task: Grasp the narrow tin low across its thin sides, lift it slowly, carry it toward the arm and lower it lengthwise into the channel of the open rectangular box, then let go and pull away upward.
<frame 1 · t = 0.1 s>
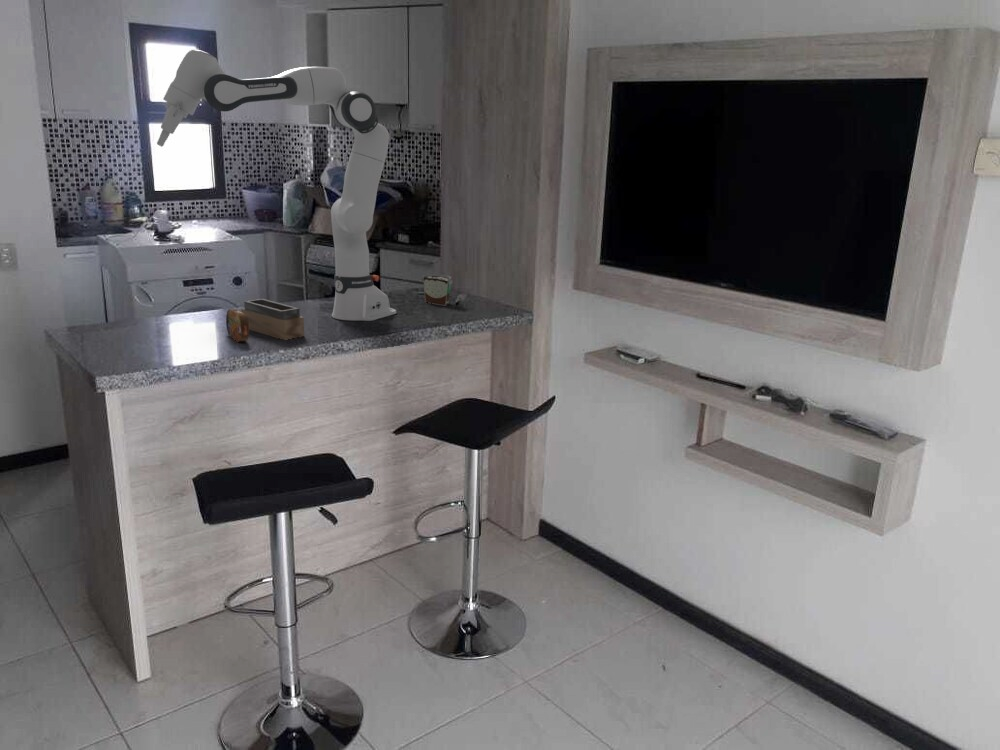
hand: (159, 145, 236), 54 cm above the countertop, tool tilted 30°, fingers open, 8 cm apart
food container: (440, 303, 298), on the countertop
open rectangular box: (272, 331, 248), on the countertop
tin: (238, 339, 239), on the countertop
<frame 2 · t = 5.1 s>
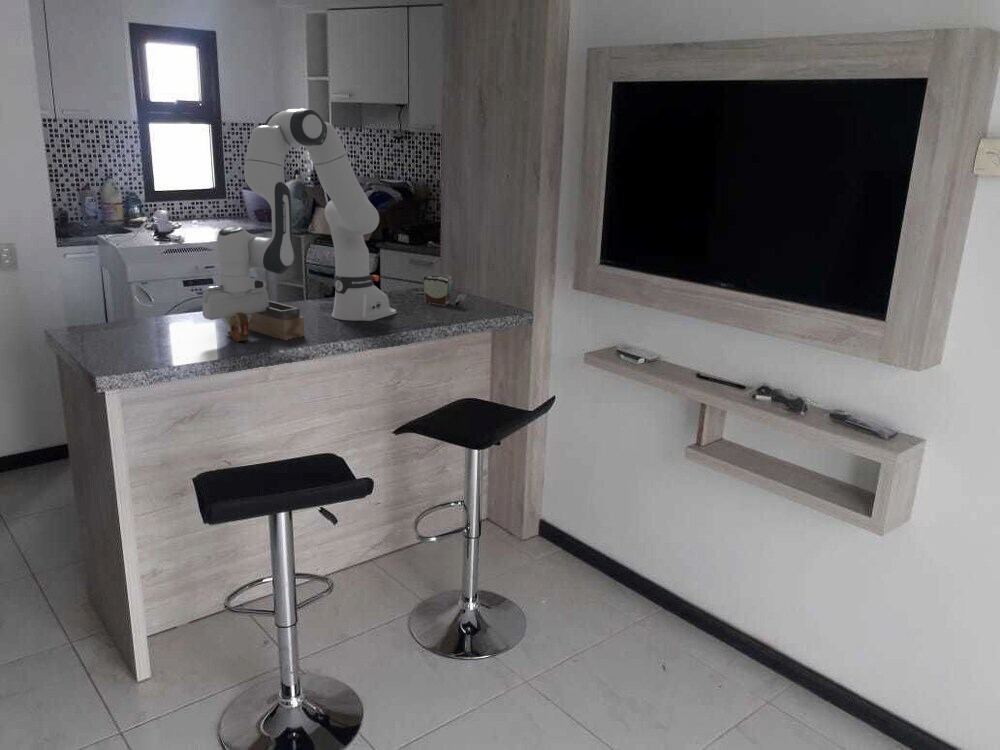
hand: (237, 329, 239), 3 cm above the countertop, tool pointing down, fingers closed on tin, 3 cm apart
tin: (238, 339, 239), on the countertop, touching gripper
everything else where it was.
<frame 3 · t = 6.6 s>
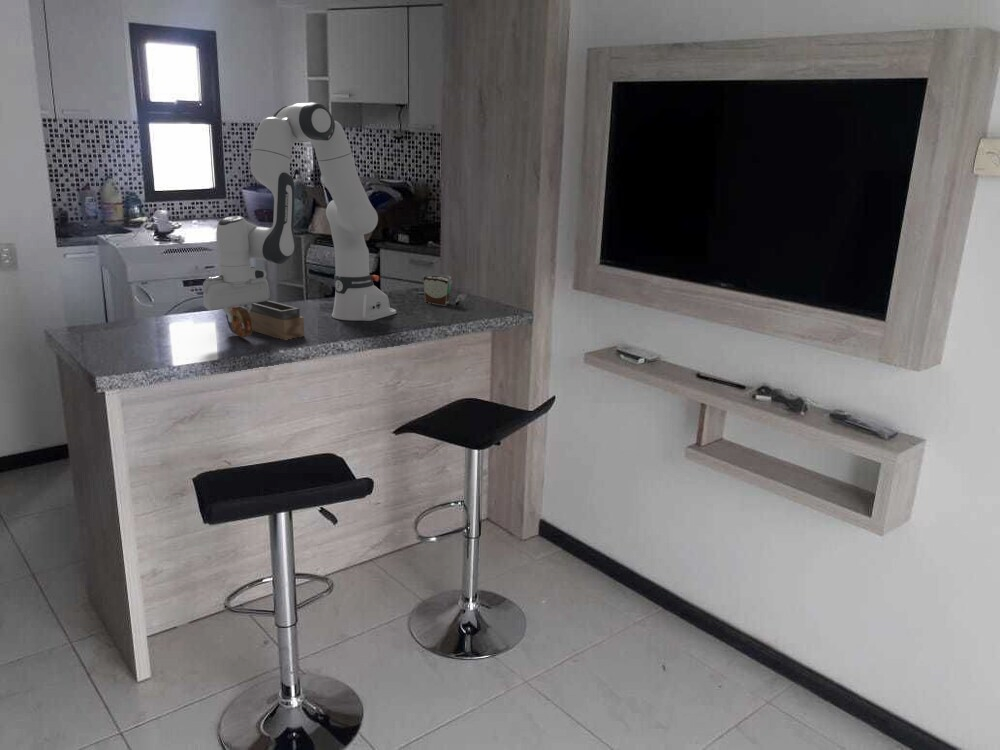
hand: (238, 320, 238), 6 cm above the countertop, tool pointing down, fingers closed on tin, 3 cm apart
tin: (242, 334, 240), point 1 cm above the countertop, touching gripper
everything else where it was.
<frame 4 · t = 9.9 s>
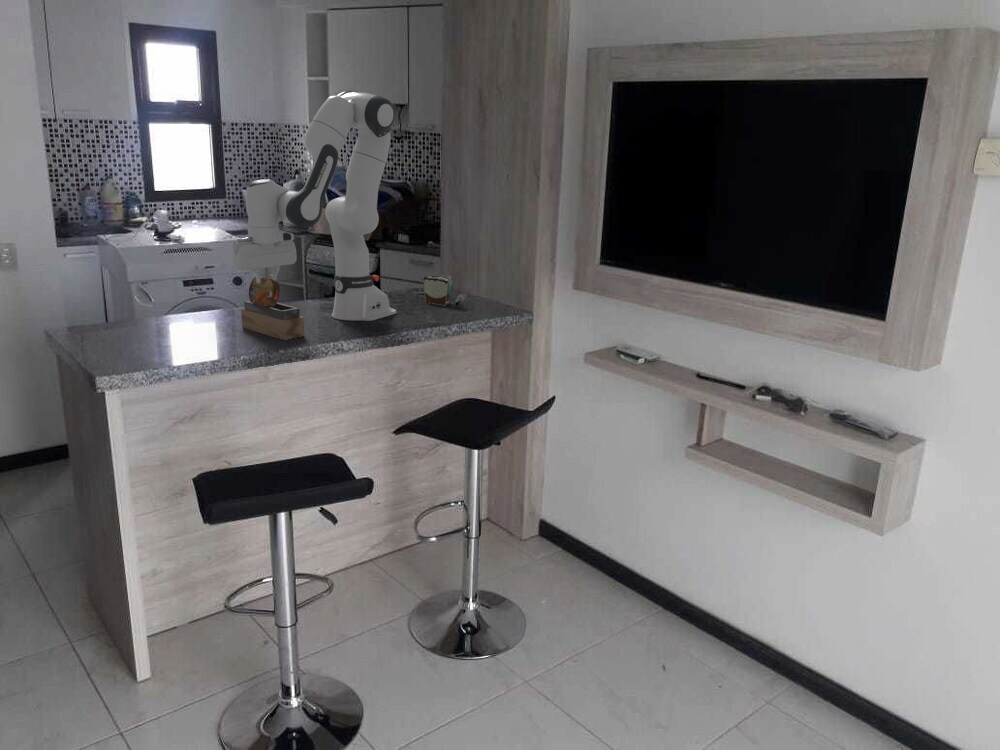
hand: (266, 282, 243), 16 cm above the countertop, tool pointing down, fingers closed on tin, 3 cm apart
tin: (262, 306, 244), point 8 cm above the countertop, touching open rectangular box, gripper
everything else where it was.
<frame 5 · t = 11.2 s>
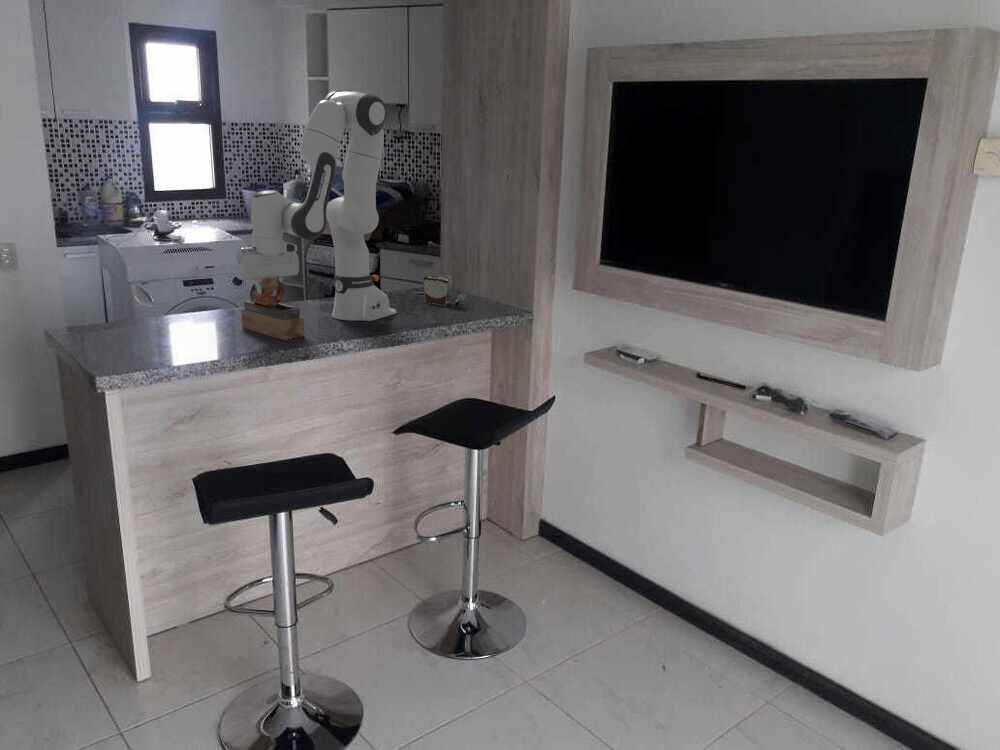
hand: (268, 292, 244), 12 cm above the countertop, tool pointing down, fingers closed on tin, 4 cm apart
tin: (262, 305, 244), point 9 cm above the countertop, touching open rectangular box, gripper
everything else where it was.
when the fingers open (10 cm above the countertop, at t = 12.6 s): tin stays where it is, resting on open rectangular box.
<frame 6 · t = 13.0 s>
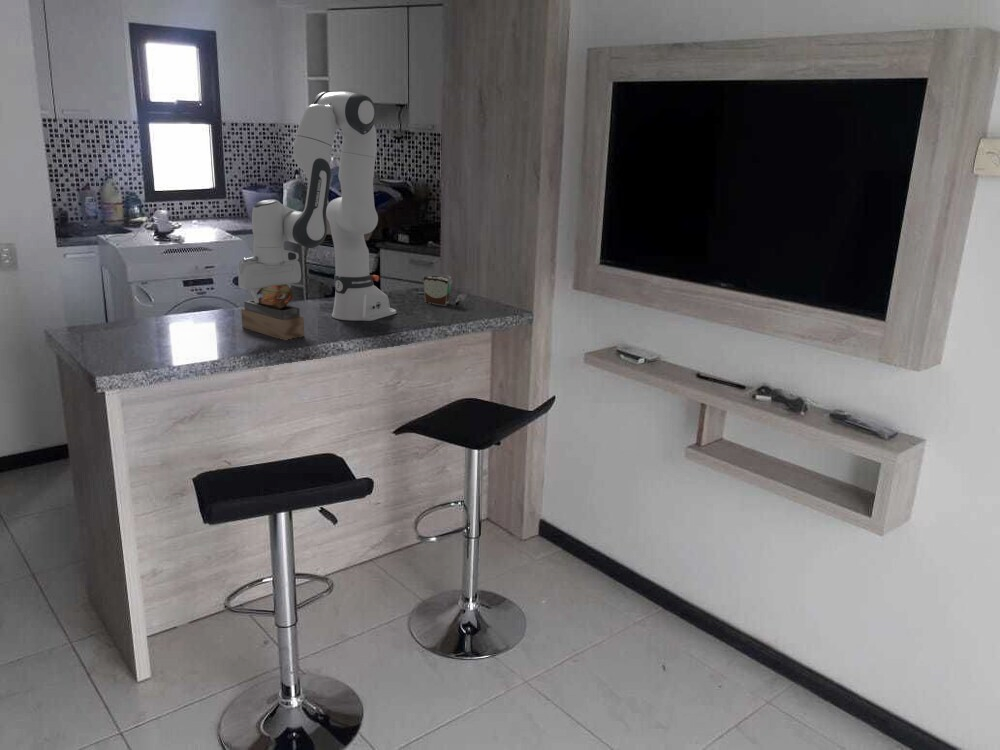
hand: (271, 300, 245), 10 cm above the countertop, tool pointing down, fingers open, 8 cm apart
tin: (265, 307, 245), point 8 cm above the countertop, touching open rectangular box, gripper
everything else where it was.
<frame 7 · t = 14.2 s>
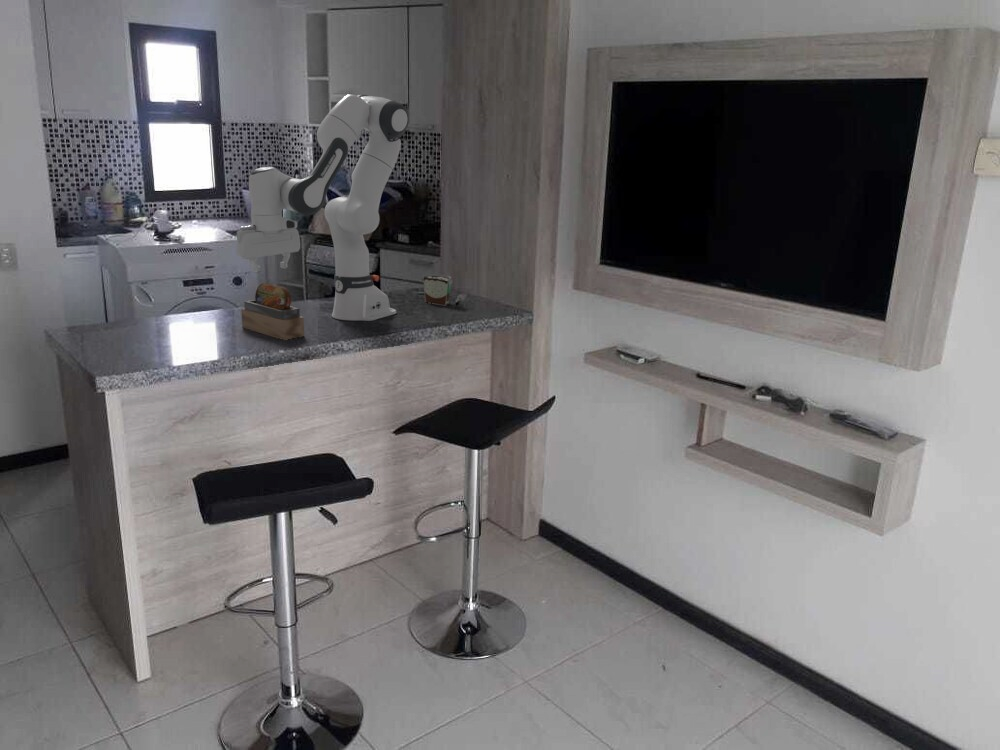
hand: (270, 270, 243), 19 cm above the countertop, tool pointing down, fingers open, 8 cm apart
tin: (272, 312, 247), point 6 cm above the countertop, touching open rectangular box
everything else where it was.
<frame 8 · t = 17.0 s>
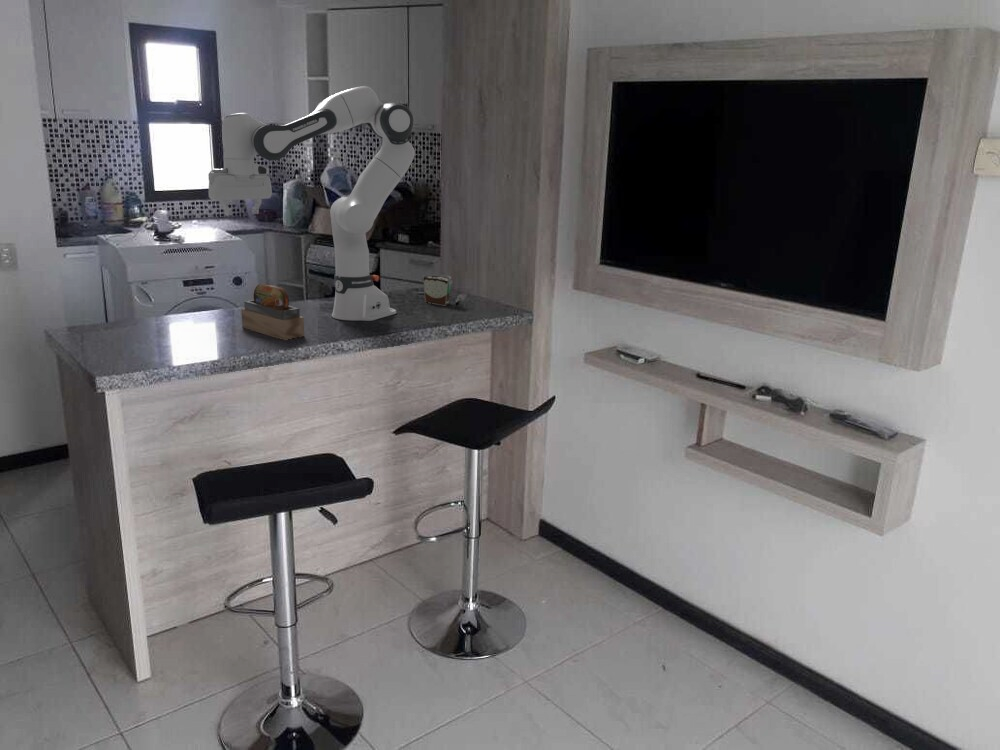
hand: (242, 214, 249), 34 cm above the countertop, tool pointing down, fingers open, 8 cm apart
at the end: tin 0.2 cm off-centre on the open rectangular box, point 5.8 cm above the open rectangular box's base; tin tilted 0°; the gripper is holding nothing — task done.
